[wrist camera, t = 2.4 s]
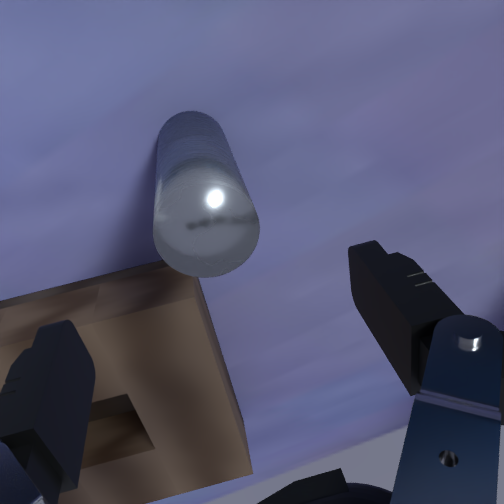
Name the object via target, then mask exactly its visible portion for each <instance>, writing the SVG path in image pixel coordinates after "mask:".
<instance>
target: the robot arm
mask: <svg viewBox="0 0 504 504" xmlns="http://www.w3.org/2000/svg"><path fill="white" fill-rule="evenodd" d="M348 258H349V270H350V282H351V292H352V296H353V300H354V303H355V305H356V307H357V309H358V311H359V313H360V314H361V316H362V318H363V319H364V321H365V323H366V324H367V326H368V327H369V329H370V331H371V332H372V334H373V336H374V337H375V339H376V340H377V342H378V344H379V345H380V347H381V349H382V350H383V352H384V353H385V355H386V357H387V358H388V360H389V362H390V363H391V365H392V366H393V368H394V370H395V371H396V373H397V375H398V376H399V378H400V379H401V381H402V383H403V384H404V386H405V388H406V389H407V391H408V392H409V394H410V396H413V395H415V399H414V403H413V407H412V411H411V415H410V420H409V424H408V428H407V433H406V437H405V441H404V445H403V450H402V454H401V458H400V462H399V467H398V471H397V475H396V479H395V484H394V488H393V492H391V491H388V490H386V489H383V488H380V487H376V486H372V485H368V484H360V483H346V481H345V478H344V475H343V473H342V470H341V468H339V469H336V470H332V471H329V472H325V473H322V474H318V475H315V476H311V477H308V478H305V479H301V480H298V481H295V482H293V483H291V484H289V485H288V486H286V487H284V488H283V489H281V490H279V491H277V492H276V493H274V494H272V495H271V496H269V497H268V498H266V499H264V500H262V501H261V502H259V503H258V504H496V500H497V484H498V483H497V482H498V466H499V446H500V429H501V425H504V331H499V329H498V328H497V327H496V326H494V325H493V324H492V323H490V322H489V321H487V320H485V319H482V318H480V317H477V316H472V315H465V314H464V313H463V312H462V311H461V310H460V309H459V308H458V307H457V306H456V305H455V304H454V303H453V302H452V301H451V299H450V298H449V297H448V296H447V295H446V294H445V293H444V292H443V291H442V290H441V289H440V288H439V287H438V286H437V284H436V283H435V282H432V279H431V278H430V277H429V276H428V275H427V274H426V273H424V271H423V270H422V268H421V267H420V266H419V265H418V264H417V263H416V262H415V261H414V260H413V259H411V258H409V257H407V256H405V255H403V254H400V253H398V252H396V253H392V254H387V252H386V251H385V250H384V249H383V248H382V247H381V245H380V244H379V243H378V242H377V241H376V240H373V241H369V242H365V243H361V244H357V245H354V246H350V247H349V249H348ZM95 379H96V374H95V367H94V363H93V360H92V357H91V356H90V354H89V352H88V350H87V348H86V346H85V344H84V343H83V341H82V339H81V337H80V335H79V333H78V332H77V330H76V328H75V326H74V324H73V323H72V322H71V321H70V320H68V319H67V320H63V321H59V322H56V323H52V324H48V325H44V326H41V327H39V328H38V330H37V333H36V336H35V339H34V341H33V344H32V347H31V348H28V349H24V350H23V352H22V353H21V354H20V355H19V356H18V358H17V359H16V360H15V361H14V362H13V364H12V365H11V367H10V369H9V372H8V374H7V377H6V379H5V384H4V385H3V387H2V390H1V392H0V504H58V499H59V494H60V493H63V492H67V491H70V490H74V489H78V482H79V476H80V470H81V464H82V458H83V452H84V446H85V440H86V434H87V428H88V422H89V416H90V410H91V404H92V398H93V392H94V386H95Z"/></svg>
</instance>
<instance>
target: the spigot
mask: <svg viewBox="0 0 504 504" xmlns="http://www.w3.org/2000/svg"><path fill="white" fill-rule="evenodd" d="M259 233H260V225H259V219H258V215H257V213H256V210H255V208H254V205H253V203H252V200H251V198H250V196H249V193H248V191H247V188H246V186H245V183H244V181H243V178H242V176H241V174H240V171H239V169H238V166H237V164H236V161H235V159H234V156H233V154H232V151H231V149H230V147H229V144H228V142H227V139H226V137H225V134H224V132H223V130H222V128H221V127H220V125H219V124H218V123H217V122H216V121H215V120H214V119H213V118H212V117H210V116H208V115H207V114H204V113H201V112H197V111H186V112H181V113H178V114H176V115H174V116H173V117H171V118H170V119H169V120H168V121H167V122H166V123H165V124H164V125H163V127H162V129H161V131H160V133H159V136H158V145H157V164H156V182H155V200H154V219H153V239H154V243H155V247H156V249H157V251H158V253H159V255H160V256H161V258H162V259H163V260H164V261H165V262H166V263H167V264H168V265H169V266H170V267H172V268H173V269H175V270H177V271H178V272H180V273H183V274H186V275H189V276H193V277H201V278H208V277H216V276H220V275H223V274H226V273H229V272H231V271H233V270H234V269H236V268H238V267H239V266H240V265H242V264H243V263H244V262H245V261H246V260H247V259H248V258H249V257H250V255H251V254H252V252H253V251H254V249H255V247H256V245H257V242H258V239H259Z"/></svg>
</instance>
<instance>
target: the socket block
mask: <svg viewBox="0 0 504 504" xmlns="http://www.w3.org/2000/svg"><path fill="white" fill-rule="evenodd" d="M67 319H68V320H70V321H71V322H72V323H73V324H74V326H75V328H76V330H77V332H78V333H79V335H80V337H81V339H82V341H83V343H84V344H85V346H86V348H87V350H88V352H89V354H90V356H91V357H92V360H93V363H94V367H95V374H96V379H95V386H94V392H93V398H92V404H91V410H90V416H89V422H88V428H87V434H86V440H85V446H84V452H83V458H82V464H81V470H80V476H79V482H78V489H74V490H70V491H67V492H63V493H60V494H59V499H58V504H146V503H150V502H153V501H157V500H160V499H164V498H168V497H171V496H175V495H178V494H182V493H186V492H189V491H193V490H196V489H200V488H204V487H207V486H211V485H215V484H218V483H222V482H225V481H229V480H233V479H236V478H240V477H243V476H247V475H251V474H253V471H252V466H251V460H250V454H249V449H248V443H247V438H246V432H245V427H244V421H243V418H242V415H241V412H240V409H239V405H238V402H237V399H236V396H235V393H234V390H233V386H232V383H231V380H230V377H229V374H228V371H227V367H226V364H225V361H224V358H223V355H222V352H221V348H220V345H219V342H218V339H217V336H216V333H215V329H214V326H213V323H212V320H211V317H210V314H209V310H208V307H207V304H206V301H205V298H204V295H203V291H202V288H201V285H200V282H199V279H198V277H193V276H189V275H186V274H183V273H180V272H178V271H177V270H175V269H173V268H172V267H170V266H169V265H168V264H167V263H166V262H165V261H164V260H161V261H157V262H153V263H149V264H145V265H141V266H137V267H133V268H129V269H125V270H121V271H117V272H113V273H109V274H105V275H101V276H97V277H93V278H90V279H86V280H82V281H78V282H74V283H70V284H66V285H62V286H58V287H54V288H50V289H46V290H42V291H38V292H34V293H30V294H26V295H22V296H18V297H14V298H10V299H7V300H3V301H0V392H1V390H2V387H3V385H4V384H5V379H6V377H7V374H8V372H9V369H10V367H11V365H12V364H13V362H14V361H15V360H16V359H17V358H18V356H19V355H20V354H21V353H22V352H23V350H24V349H28V348H31V347H32V344H33V341H34V339H35V336H36V333H37V330H38V328H39V327H41V326H44V325H48V324H52V323H56V322H59V321H63V320H67Z"/></svg>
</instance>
